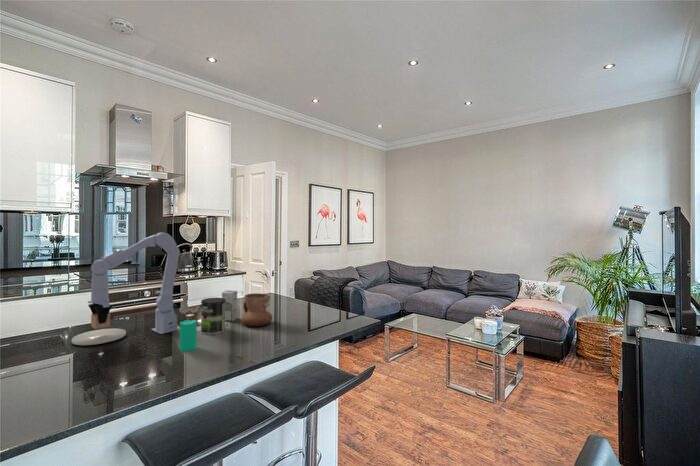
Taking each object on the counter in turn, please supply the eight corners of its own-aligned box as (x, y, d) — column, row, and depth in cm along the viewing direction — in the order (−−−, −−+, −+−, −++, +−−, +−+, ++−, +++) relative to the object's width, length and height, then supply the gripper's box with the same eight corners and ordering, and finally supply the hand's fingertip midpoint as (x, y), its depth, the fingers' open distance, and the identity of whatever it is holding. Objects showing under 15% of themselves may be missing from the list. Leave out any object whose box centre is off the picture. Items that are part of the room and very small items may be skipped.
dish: (133, 337, 140) (133, 334, 140) (80, 350, 125) (80, 346, 125) (116, 329, 150) (116, 325, 150) (65, 339, 136) (65, 336, 136)
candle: (200, 347, 131) (200, 316, 131) (188, 352, 125) (188, 320, 125) (188, 344, 133) (188, 315, 132) (175, 350, 127) (175, 319, 127)
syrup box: (237, 318, 171) (237, 290, 171) (232, 321, 165) (232, 292, 165) (226, 317, 172) (227, 289, 171) (221, 321, 166) (221, 292, 166)
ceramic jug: (280, 324, 162) (280, 295, 162) (255, 331, 151) (255, 299, 151) (257, 318, 173) (257, 290, 173) (232, 324, 162) (232, 294, 162)
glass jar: (213, 336, 144) (213, 303, 144) (195, 332, 148) (195, 301, 147) (230, 329, 153) (230, 298, 153) (213, 326, 157) (213, 296, 157)
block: (110, 326, 138) (110, 314, 138) (95, 329, 134) (95, 316, 134) (105, 323, 141) (105, 312, 141) (91, 326, 137) (91, 314, 137)
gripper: (82, 288, 138) (82, 320, 138) (94, 292, 130) (94, 327, 130) (102, 285, 144) (102, 317, 144) (115, 290, 135) (115, 323, 136)
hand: (99, 321), depth 137 cm, fingers closed on block, 5 cm apart
